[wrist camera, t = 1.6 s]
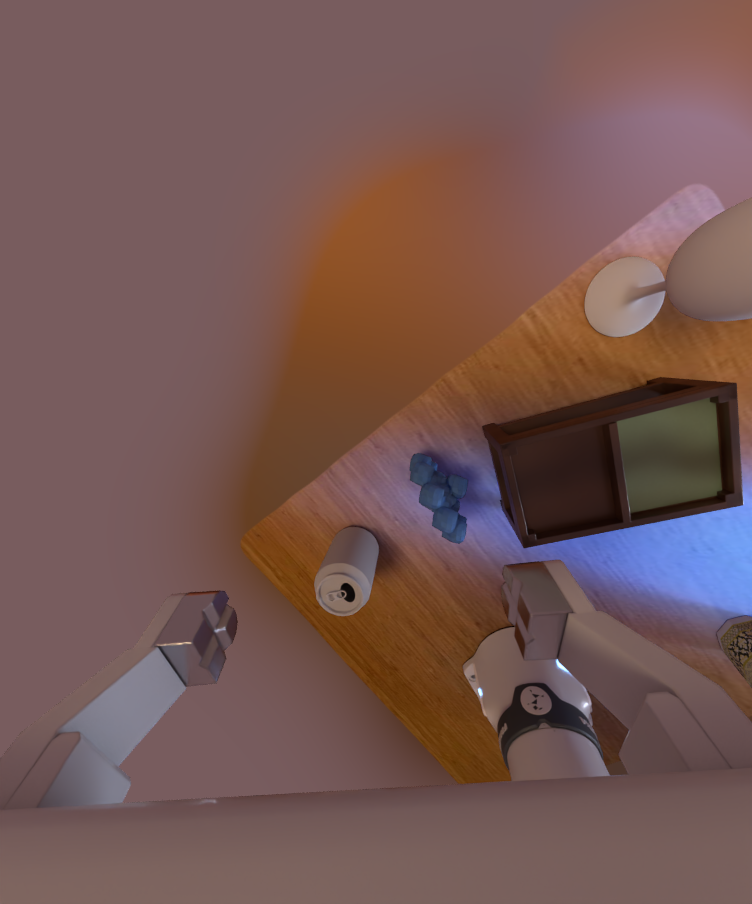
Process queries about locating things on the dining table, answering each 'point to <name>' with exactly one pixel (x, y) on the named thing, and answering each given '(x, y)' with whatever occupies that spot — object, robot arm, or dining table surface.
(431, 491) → the grapes
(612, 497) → the tray
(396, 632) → the dining table surface
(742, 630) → the ceramic cup
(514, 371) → the dining table surface
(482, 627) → the dining table surface
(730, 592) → the dining table surface
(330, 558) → the can
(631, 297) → the wineglass
